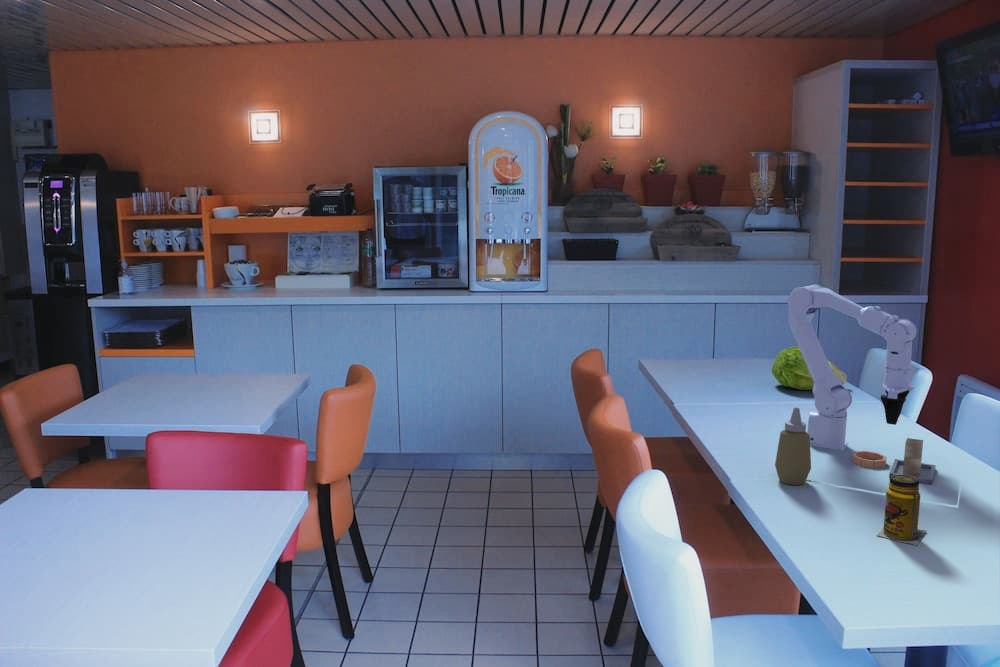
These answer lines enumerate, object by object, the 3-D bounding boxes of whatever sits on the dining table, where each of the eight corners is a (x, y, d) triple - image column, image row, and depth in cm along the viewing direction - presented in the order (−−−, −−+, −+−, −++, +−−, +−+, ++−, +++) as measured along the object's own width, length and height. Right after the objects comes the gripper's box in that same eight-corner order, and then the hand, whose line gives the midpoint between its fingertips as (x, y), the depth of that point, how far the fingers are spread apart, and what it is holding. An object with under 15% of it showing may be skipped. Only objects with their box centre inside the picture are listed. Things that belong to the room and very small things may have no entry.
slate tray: (888, 479, 189) (889, 473, 189) (894, 464, 199) (894, 459, 199) (931, 486, 185) (932, 480, 184) (935, 471, 195) (935, 465, 194)
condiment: (876, 536, 159) (881, 479, 156) (888, 522, 165) (892, 467, 163) (916, 546, 154) (921, 487, 152) (926, 532, 160) (932, 475, 158)
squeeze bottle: (793, 489, 183) (797, 414, 180) (766, 478, 190) (770, 406, 187) (817, 483, 187) (822, 409, 184) (790, 473, 194) (795, 401, 191)
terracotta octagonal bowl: (850, 466, 199) (851, 457, 198) (855, 457, 205) (855, 449, 204) (883, 471, 195) (884, 462, 194) (887, 462, 201) (887, 454, 201)
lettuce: (828, 395, 286) (839, 413, 271) (764, 371, 286) (771, 387, 271) (847, 359, 281) (860, 375, 266) (782, 335, 281) (791, 349, 267)
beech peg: (902, 473, 191) (905, 441, 190) (904, 469, 194) (907, 437, 193) (919, 476, 190) (921, 444, 188) (920, 471, 193) (923, 440, 191)
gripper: (912, 375, 191) (908, 429, 194) (917, 364, 203) (913, 415, 206) (880, 372, 195) (876, 425, 197) (887, 361, 207) (883, 411, 209)
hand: (893, 420), depth 202 cm, fingers open, 7 cm apart
